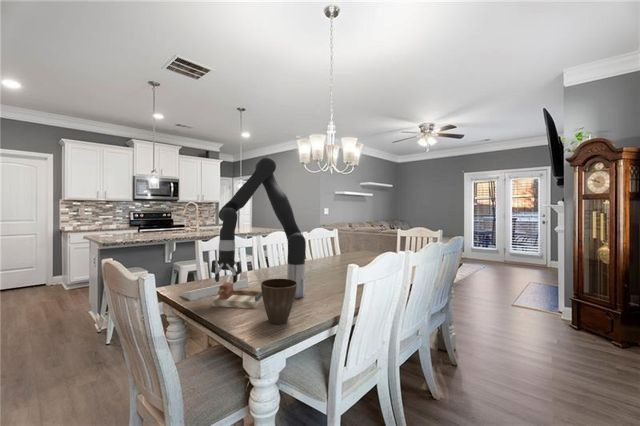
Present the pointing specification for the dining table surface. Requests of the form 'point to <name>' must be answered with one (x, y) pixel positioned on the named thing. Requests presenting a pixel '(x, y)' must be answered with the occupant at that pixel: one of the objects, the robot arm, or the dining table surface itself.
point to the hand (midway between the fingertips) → (225, 282)
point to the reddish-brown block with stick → (225, 290)
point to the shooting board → (240, 299)
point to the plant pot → (278, 298)
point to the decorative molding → (212, 290)
